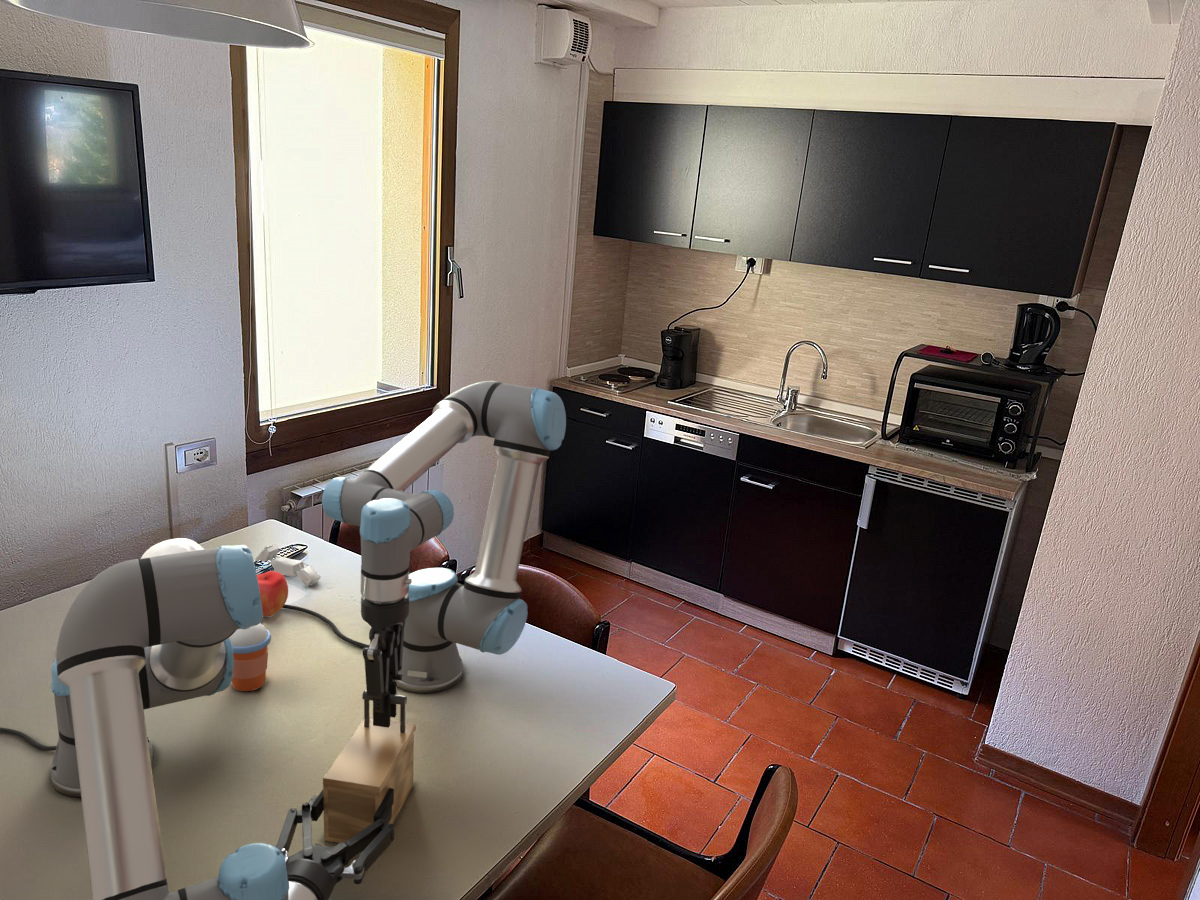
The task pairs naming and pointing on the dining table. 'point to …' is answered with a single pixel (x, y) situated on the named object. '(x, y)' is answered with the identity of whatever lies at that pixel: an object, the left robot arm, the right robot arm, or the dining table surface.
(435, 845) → the dining table surface
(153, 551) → the skull
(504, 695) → the dining table surface
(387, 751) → the lid
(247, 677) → the cup with straw
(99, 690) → the left robot arm
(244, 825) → the dining table surface
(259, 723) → the dining table surface
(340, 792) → the chest
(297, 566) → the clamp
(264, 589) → the apple
